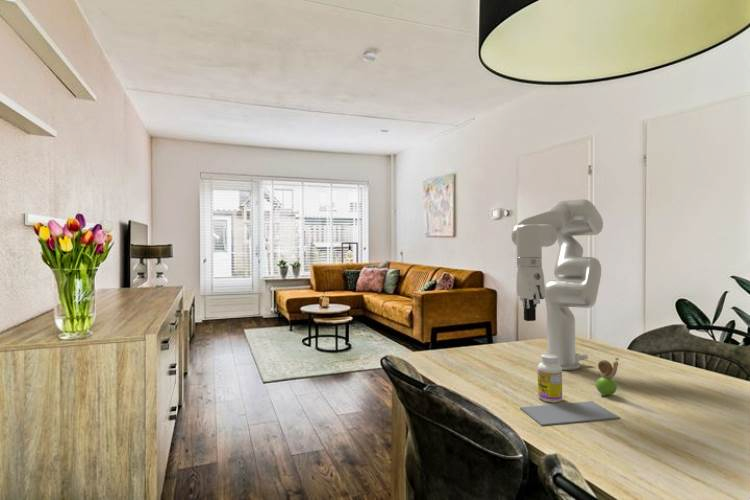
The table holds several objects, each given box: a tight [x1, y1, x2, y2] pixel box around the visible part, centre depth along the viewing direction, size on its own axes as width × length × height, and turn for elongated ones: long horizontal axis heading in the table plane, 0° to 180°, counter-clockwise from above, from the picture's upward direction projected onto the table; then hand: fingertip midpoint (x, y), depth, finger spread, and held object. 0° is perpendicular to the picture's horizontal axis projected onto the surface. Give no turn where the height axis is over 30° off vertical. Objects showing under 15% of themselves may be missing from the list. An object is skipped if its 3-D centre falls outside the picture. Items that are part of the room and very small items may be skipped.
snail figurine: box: [595, 357, 619, 397], centre depth 125 cm, size 5×6×12 cm
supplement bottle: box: [537, 353, 563, 403], centre depth 124 cm, size 7×7×13 cm
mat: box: [519, 400, 621, 427], centre depth 113 cm, size 22×11×1 cm, turn 98°
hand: (529, 320), depth 134 cm, fingers closed
